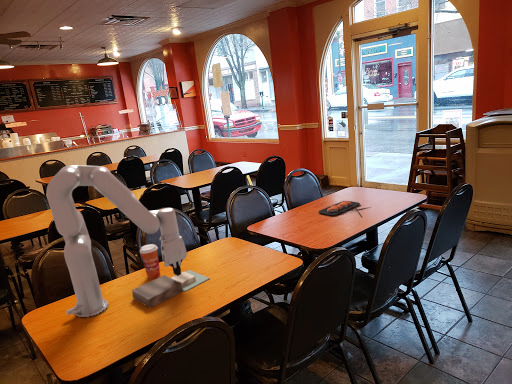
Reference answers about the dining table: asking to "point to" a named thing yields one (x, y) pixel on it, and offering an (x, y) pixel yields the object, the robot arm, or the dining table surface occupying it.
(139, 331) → the dining table surface
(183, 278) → the beige rectangular block
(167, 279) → the grey rectangular block
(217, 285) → the dining table surface
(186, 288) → the mat
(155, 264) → the coffee cup
